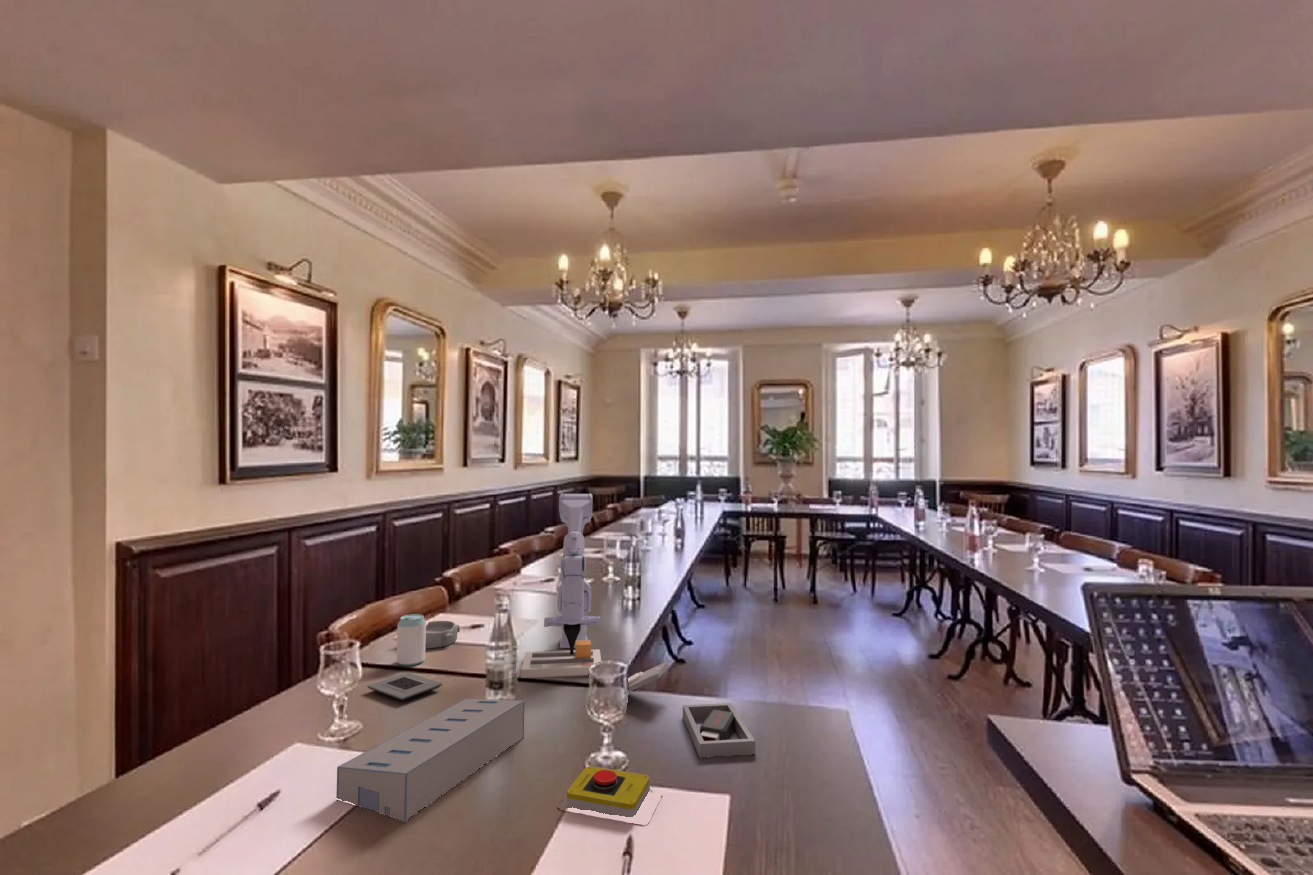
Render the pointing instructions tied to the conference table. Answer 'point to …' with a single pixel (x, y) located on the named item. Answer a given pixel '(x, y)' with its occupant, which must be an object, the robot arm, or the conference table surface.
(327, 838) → the conference table surface
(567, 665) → the plate
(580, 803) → the emergency button
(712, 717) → the usb drive
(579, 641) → the orange cube
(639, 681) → the light switch
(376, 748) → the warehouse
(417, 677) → the electrical outlet
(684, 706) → the desk tray
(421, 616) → the can
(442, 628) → the dish
